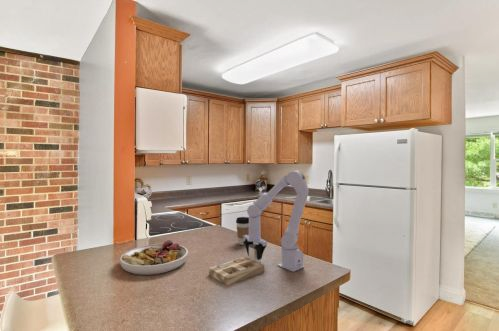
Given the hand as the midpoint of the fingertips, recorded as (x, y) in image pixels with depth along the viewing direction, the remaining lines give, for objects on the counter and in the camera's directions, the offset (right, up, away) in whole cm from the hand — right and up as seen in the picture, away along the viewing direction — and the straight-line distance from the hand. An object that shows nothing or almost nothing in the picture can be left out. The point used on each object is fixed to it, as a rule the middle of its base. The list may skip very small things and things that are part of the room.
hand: (254, 257), depth 133 cm
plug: (0, -2, 0) cm, 2 cm away
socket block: (-8, -2, -14) cm, 16 cm away
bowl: (-47, -3, -3) cm, 47 cm away
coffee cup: (-6, -1, +28) cm, 29 cm away
